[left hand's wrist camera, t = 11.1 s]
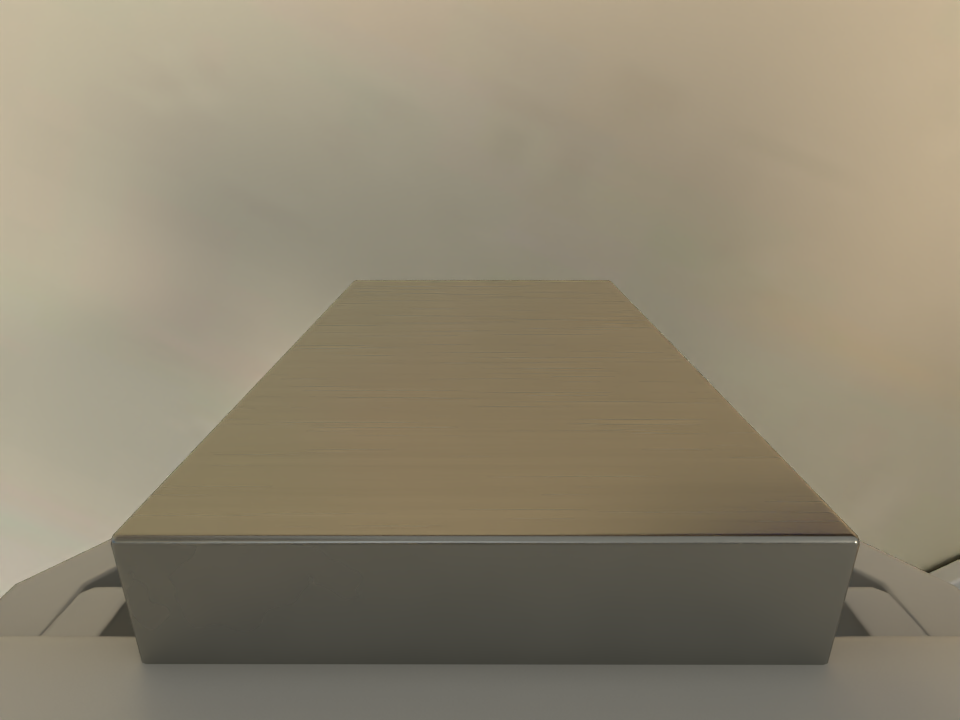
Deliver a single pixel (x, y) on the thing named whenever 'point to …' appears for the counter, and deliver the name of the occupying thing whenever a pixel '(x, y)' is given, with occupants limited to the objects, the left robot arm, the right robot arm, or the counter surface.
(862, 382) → the counter surface
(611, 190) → the counter surface
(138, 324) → the counter surface
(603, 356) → the bar
